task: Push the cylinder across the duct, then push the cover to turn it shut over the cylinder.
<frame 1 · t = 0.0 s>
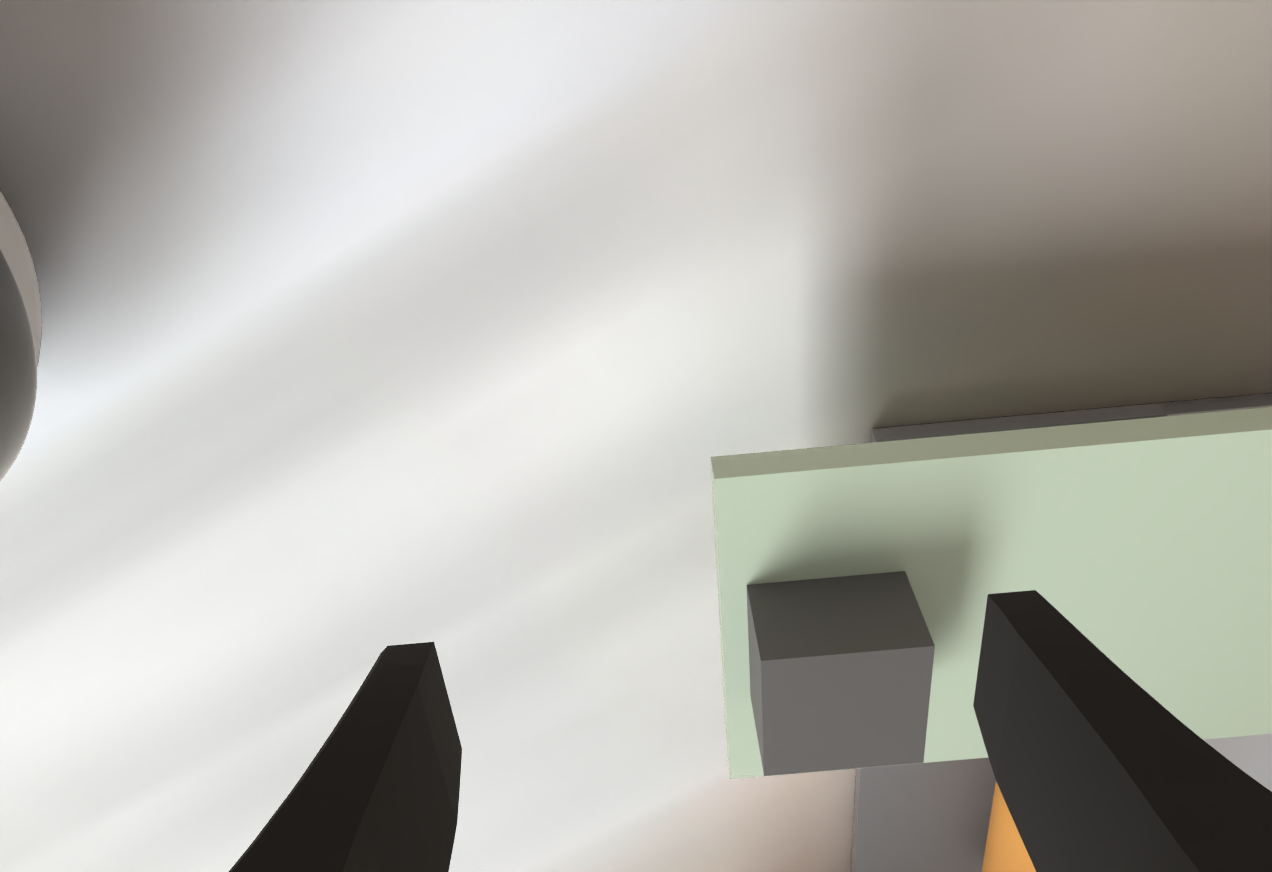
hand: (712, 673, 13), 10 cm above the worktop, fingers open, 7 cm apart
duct: (1130, 679, 28), on the worktop
cylinder: (1057, 797, 27), point 2 cm above the worktop, touching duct
cover: (1132, 634, 19), point 6 cm above the worktop, hinge at -90.0°
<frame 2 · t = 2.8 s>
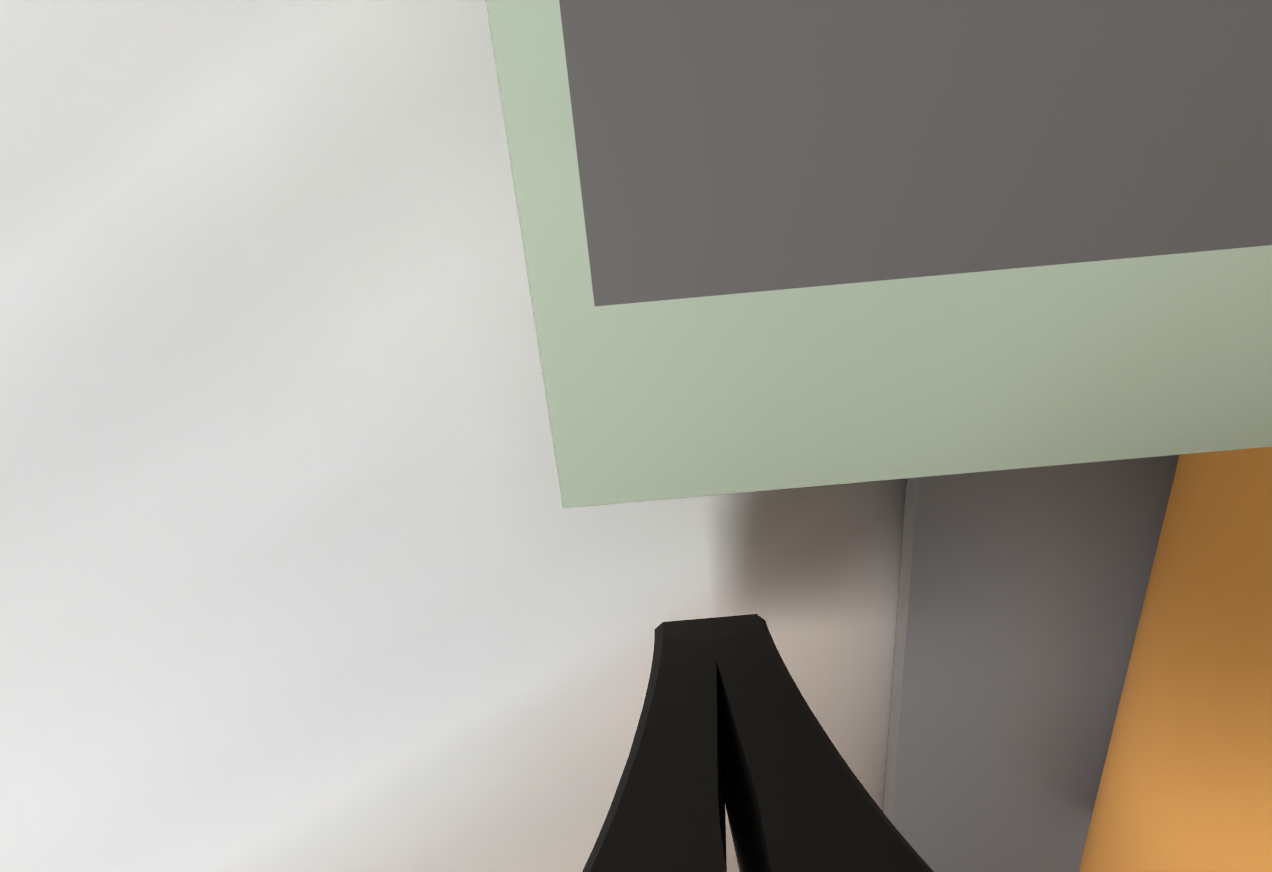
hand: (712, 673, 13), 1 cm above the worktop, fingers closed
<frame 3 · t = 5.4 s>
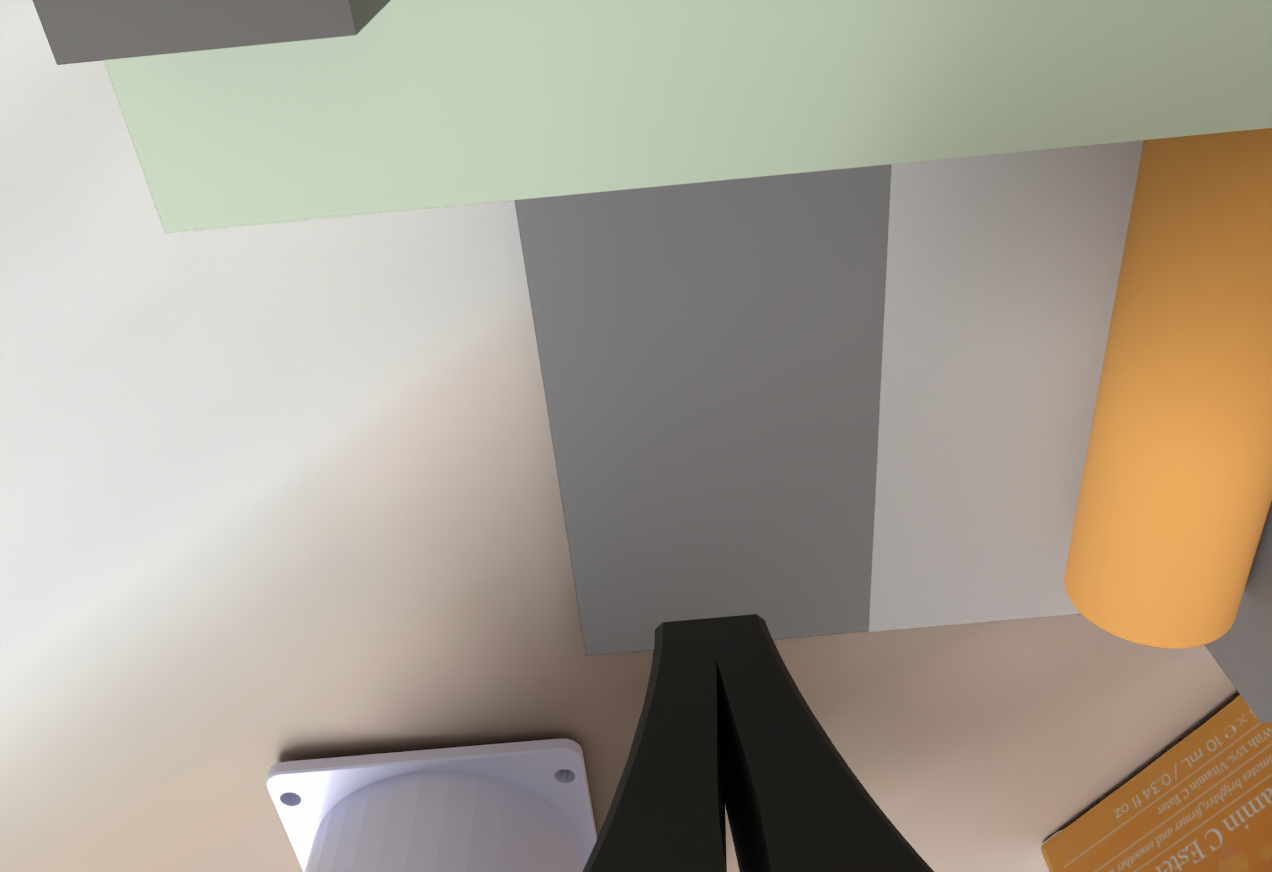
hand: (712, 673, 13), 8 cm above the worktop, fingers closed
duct: (930, 254, 19), on the worktop
cylinder: (1198, 381, 18), point 2 cm above the worktop, tilted 115°, touching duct
small box: (1211, 794, 28), on the worktop
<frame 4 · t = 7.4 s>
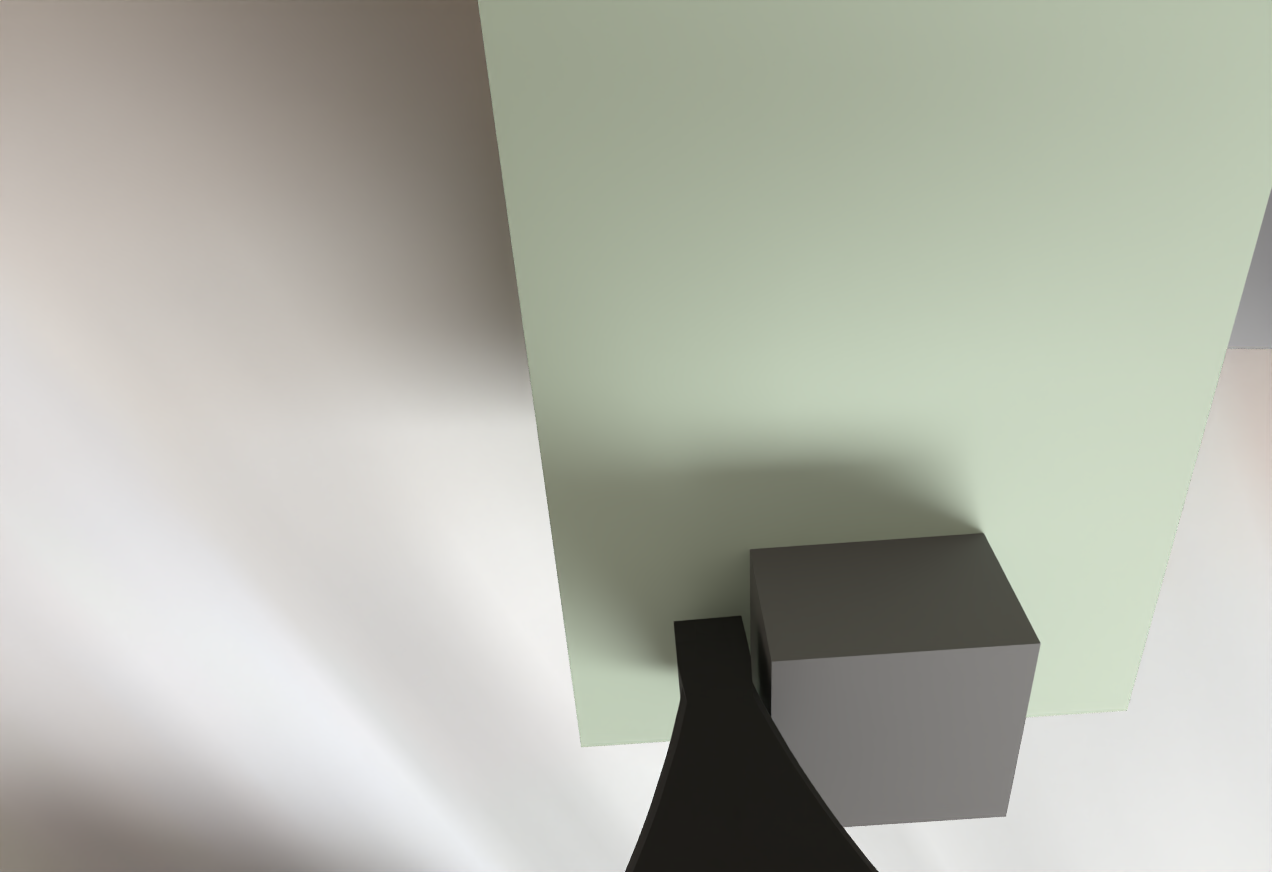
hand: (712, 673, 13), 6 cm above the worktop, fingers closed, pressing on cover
cover: (904, 248, 10), point 6 cm above the worktop, hinge at -85.2°, touching gripper
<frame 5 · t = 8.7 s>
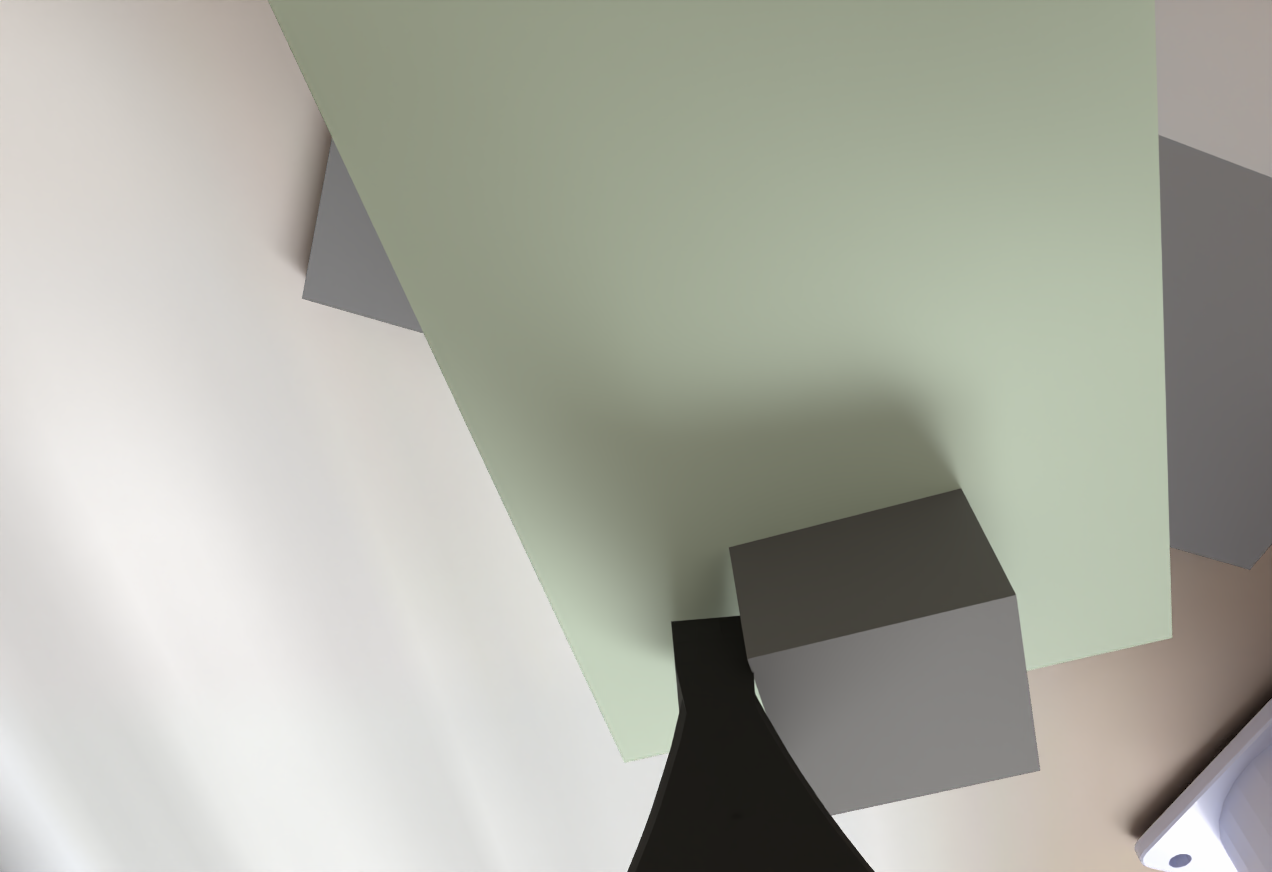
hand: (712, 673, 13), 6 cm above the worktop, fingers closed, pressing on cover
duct: (1037, 6, 14), on the worktop
cover: (776, 233, 10), point 6 cm above the worktop, hinge at -53.9°, touching gripper
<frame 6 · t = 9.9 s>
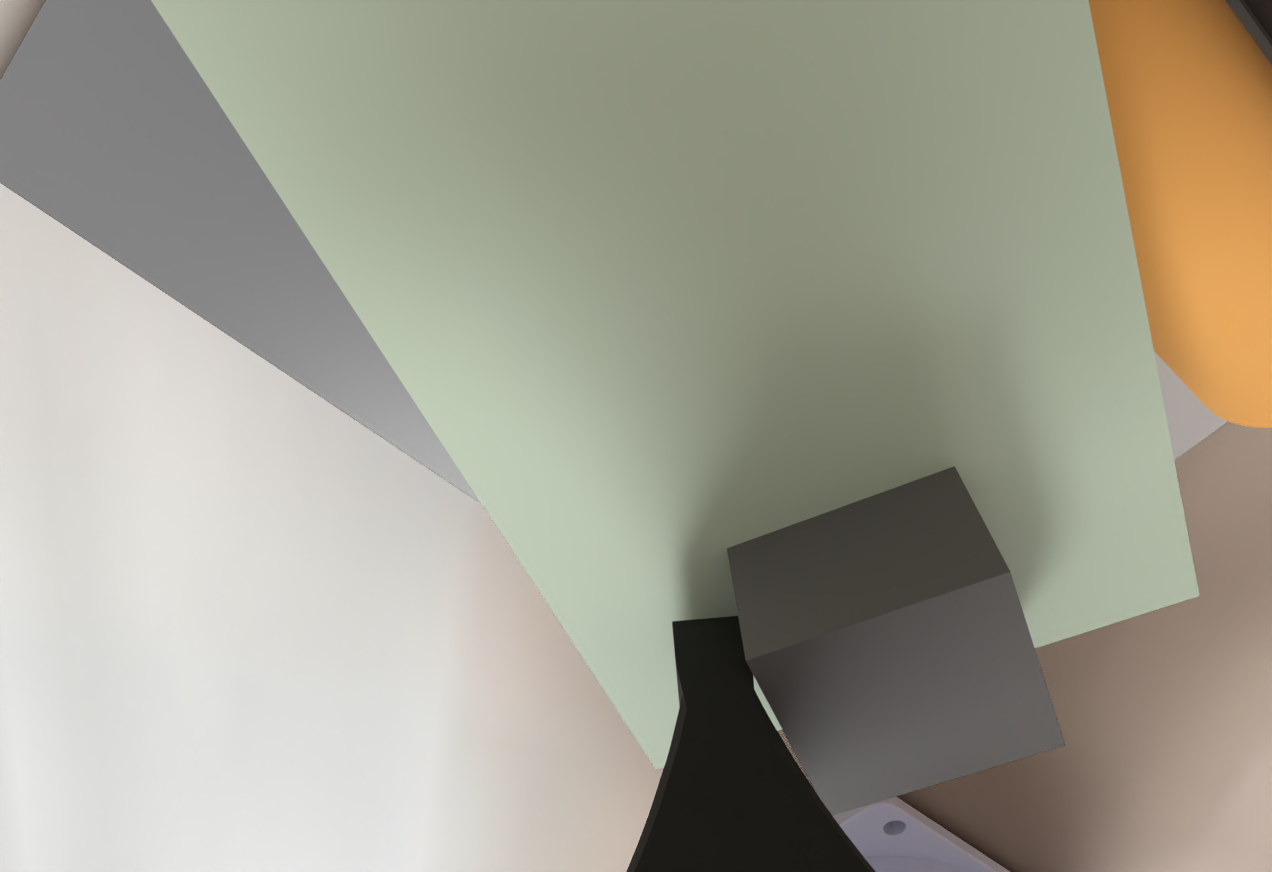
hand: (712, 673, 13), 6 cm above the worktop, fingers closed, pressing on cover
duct: (766, 171, 16), on the worktop
cylinder: (1112, 106, 13), point 2 cm above the worktop, tilted 134°, touching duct
cover: (720, 233, 10), point 6 cm above the worktop, hinge at -23.7°, touching gripper
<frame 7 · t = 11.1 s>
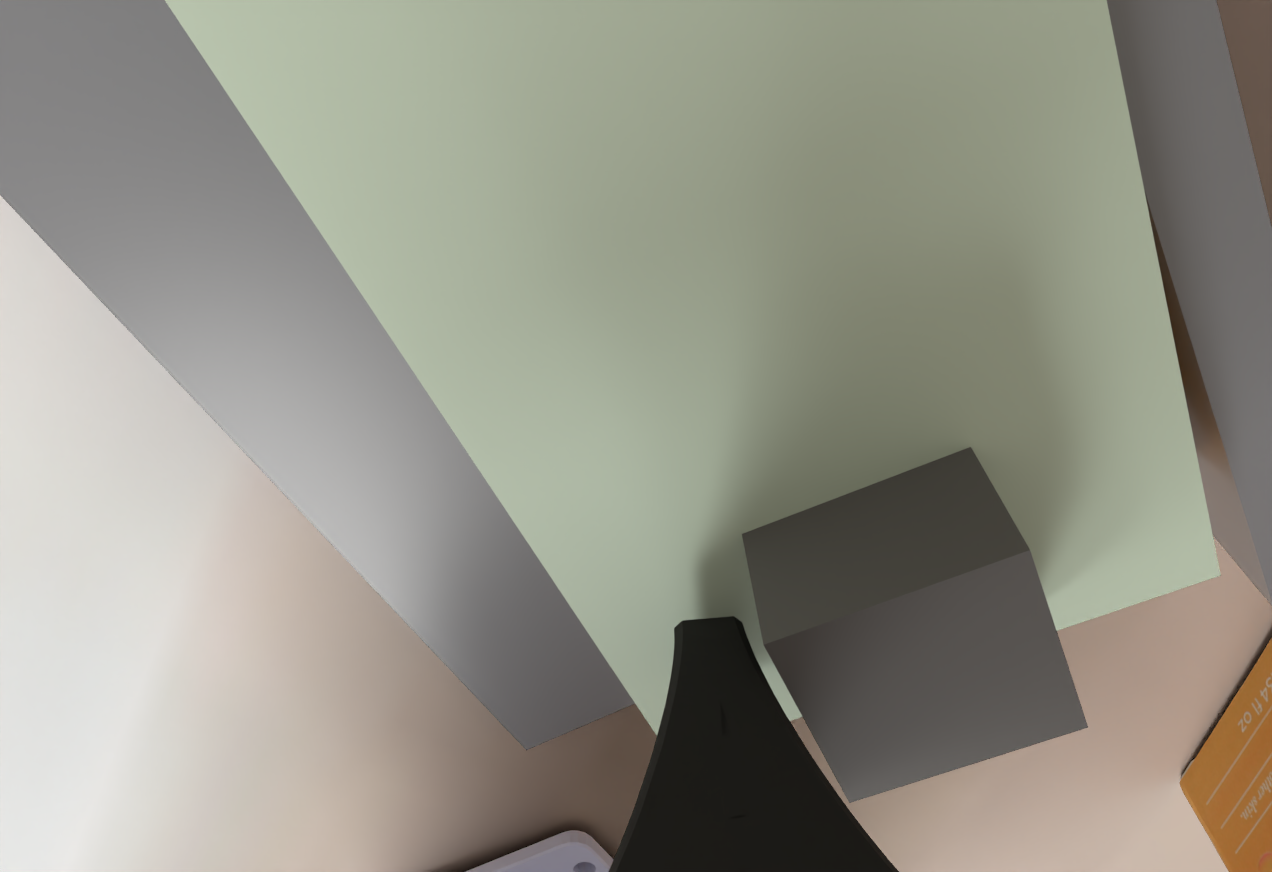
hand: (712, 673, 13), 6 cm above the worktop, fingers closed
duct: (615, 216, 16), on the worktop
cover: (731, 212, 10), point 6 cm above the worktop, hinge at -4.9°, touching gripper
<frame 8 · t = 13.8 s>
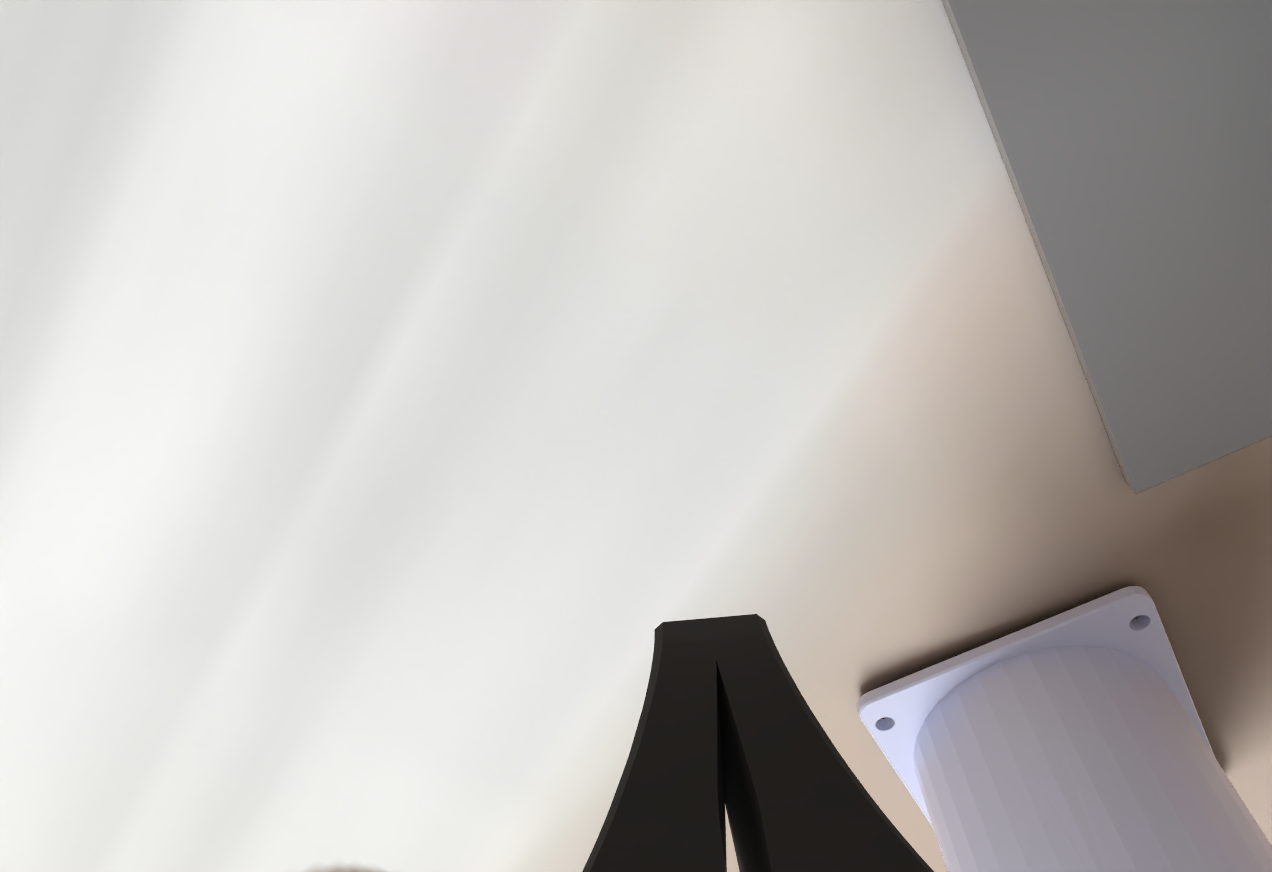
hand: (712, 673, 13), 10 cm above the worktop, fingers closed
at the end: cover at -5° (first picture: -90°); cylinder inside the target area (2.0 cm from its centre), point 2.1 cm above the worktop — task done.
